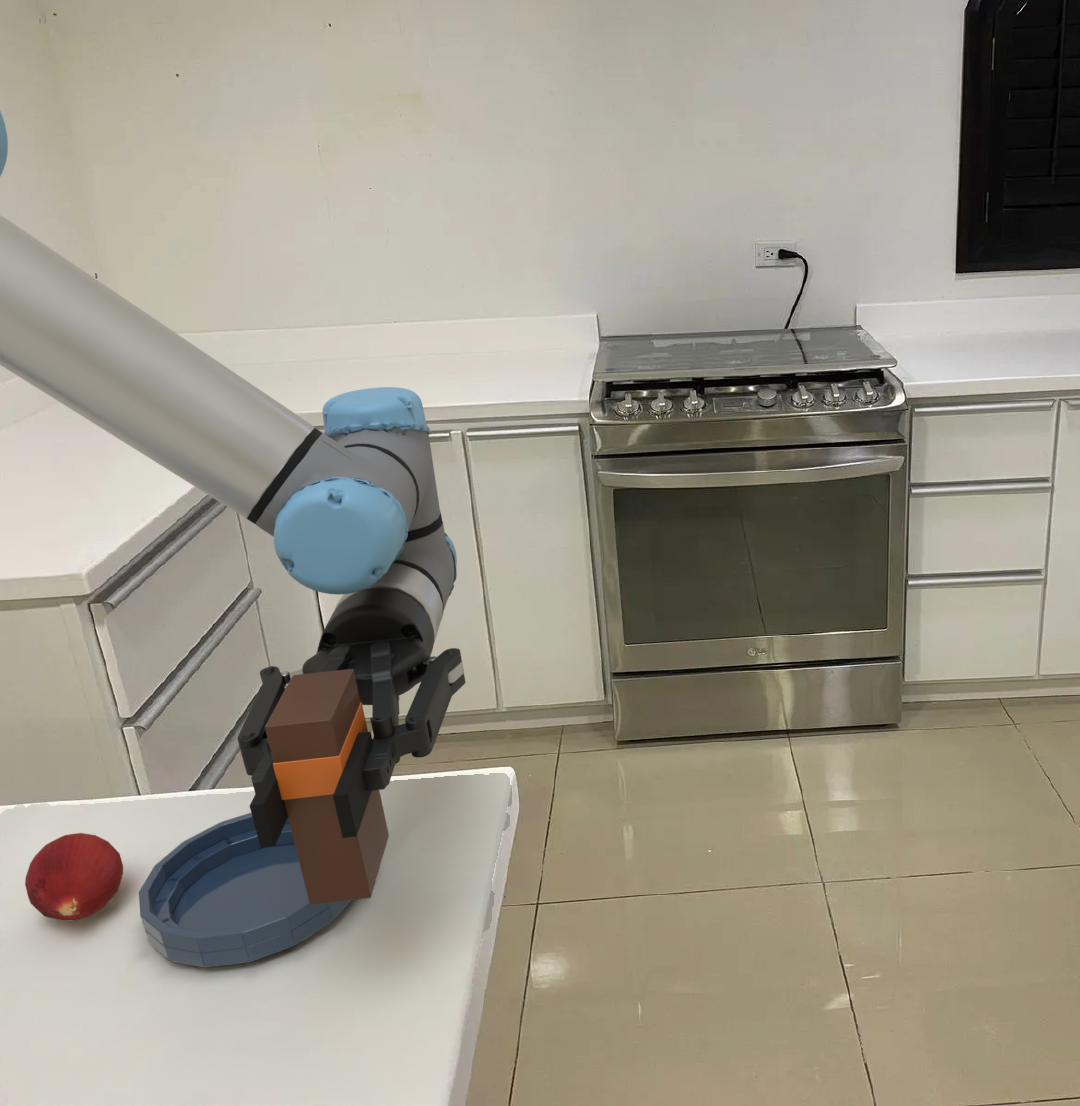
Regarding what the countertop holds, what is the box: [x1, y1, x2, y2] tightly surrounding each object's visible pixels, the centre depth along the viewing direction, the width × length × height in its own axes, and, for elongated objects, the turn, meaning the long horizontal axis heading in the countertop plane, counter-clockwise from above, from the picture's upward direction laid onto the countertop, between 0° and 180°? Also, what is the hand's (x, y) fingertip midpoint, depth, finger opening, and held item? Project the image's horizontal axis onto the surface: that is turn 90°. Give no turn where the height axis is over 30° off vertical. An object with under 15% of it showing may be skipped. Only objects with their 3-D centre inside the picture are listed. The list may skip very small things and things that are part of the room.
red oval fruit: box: [24, 832, 124, 922], centre depth 76 cm, size 6×6×8 cm
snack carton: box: [265, 669, 390, 905], centre depth 63 cm, size 4×6×12 cm, turn 7°
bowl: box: [138, 812, 352, 968], centre depth 76 cm, size 14×14×3 cm
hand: (304, 820), depth 58 cm, fingers closed on snack carton, 4 cm apart
